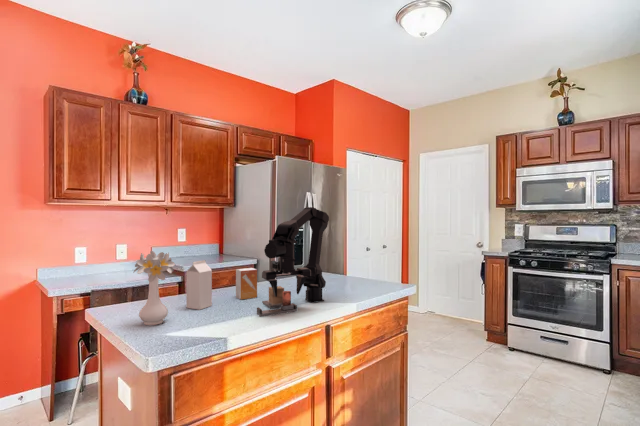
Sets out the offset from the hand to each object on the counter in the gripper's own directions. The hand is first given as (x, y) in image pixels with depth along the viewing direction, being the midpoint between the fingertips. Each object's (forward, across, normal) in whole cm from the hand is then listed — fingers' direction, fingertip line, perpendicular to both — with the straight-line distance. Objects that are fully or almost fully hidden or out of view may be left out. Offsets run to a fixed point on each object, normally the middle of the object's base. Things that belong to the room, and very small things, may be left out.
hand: (286, 295), depth 141 cm
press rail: (+6, +4, 0) cm, 8 cm away
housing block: (+5, 0, -12) cm, 13 cm away
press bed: (+6, 0, -12) cm, 14 cm away
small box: (+7, +8, -31) cm, 32 cm away
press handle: (+5, 0, 0) cm, 5 cm away
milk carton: (+6, +30, -23) cm, 38 cm away
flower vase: (+6, +47, -8) cm, 48 cm away
